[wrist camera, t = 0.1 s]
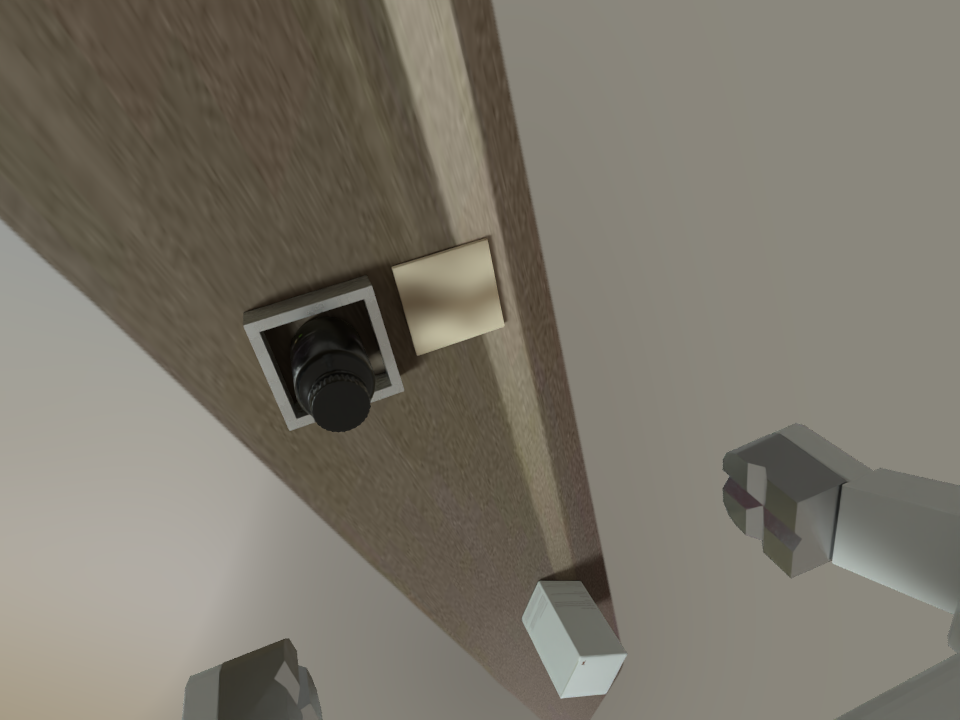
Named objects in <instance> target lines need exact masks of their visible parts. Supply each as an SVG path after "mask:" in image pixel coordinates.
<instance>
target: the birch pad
mask: <svg viewBox="0 0 960 720" xmlns="http://www.w3.org/2000/svg"><path fill="white" fill-rule="evenodd" d="M391 268H392V271H393V275H394V278H395V282H396V285H397V289H398V292H399V296H400V299H401V303H402V306H403V310H404V313H405V317H406V320H407V324H408V327H409V331H410V334H411V338H412V341H413V345H414V348H415V352H416V354H417V356H419V355H422V354H425V353H428V352H430V351H433V350H436V349H439V348H442V347H445V346H448V345H451V344H454V343H457V342H460V341H463V340H466V339H469V338H472V337H475V336H478V335H481V334H484V333H487V332H490V331H492V330H495V329H498V328H501V327H504V321H503V316H502V310H501V305H500V300H499V295H498V290H497V285H496V280H495V275H494V270H493V265H492V259H491V254H490V249H489V244H488V239H486V238H484V239H481V240H477V241H474V242H471V243H468V244H464V245H461V246H458V247H455V248H451V249H448V250H445V251H442V252H438V253H435V254H432V255H428V256H425V257H422V258H419V259H415V260H412V261H409V262H406V263H402V264H399V265H396V266H393V267H391Z"/></svg>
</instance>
